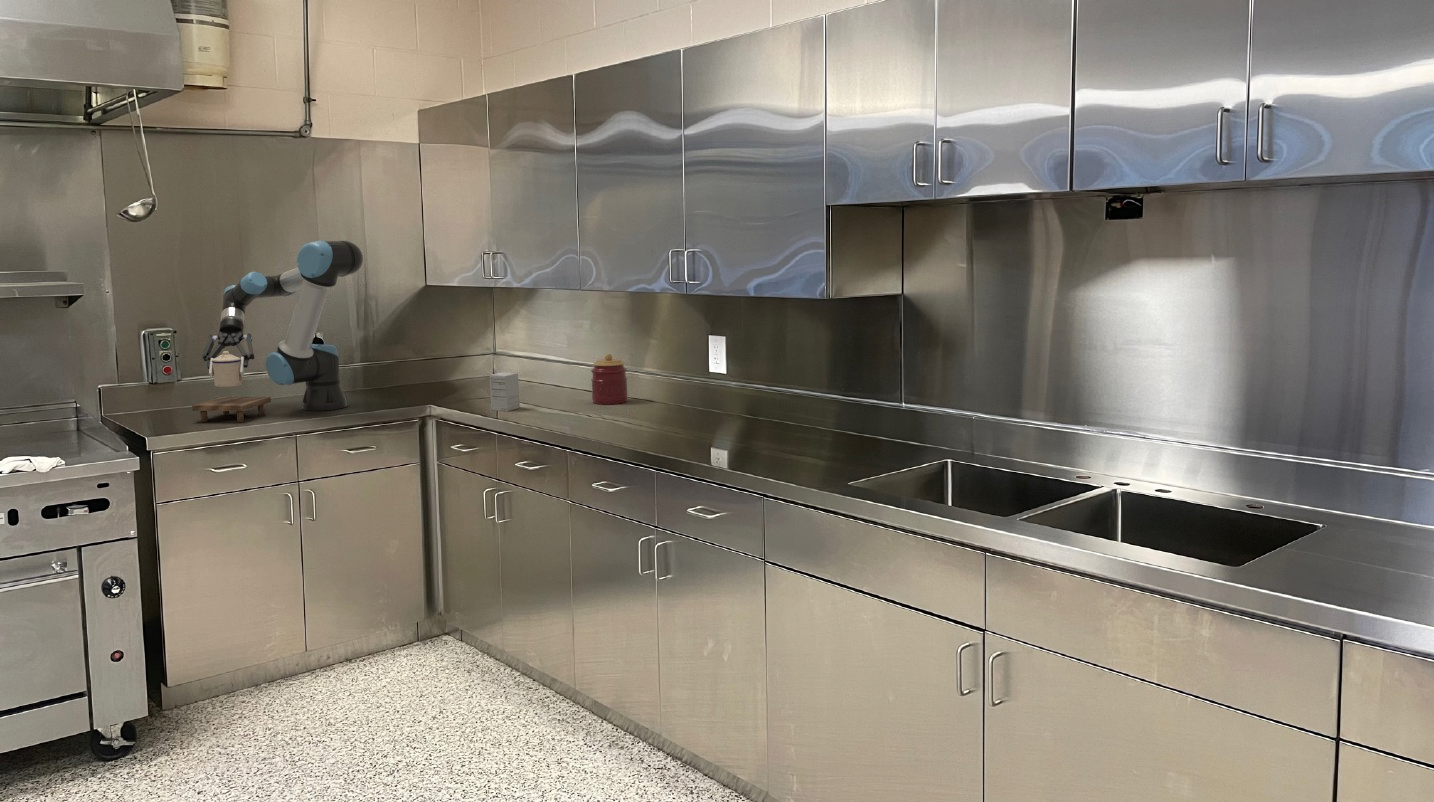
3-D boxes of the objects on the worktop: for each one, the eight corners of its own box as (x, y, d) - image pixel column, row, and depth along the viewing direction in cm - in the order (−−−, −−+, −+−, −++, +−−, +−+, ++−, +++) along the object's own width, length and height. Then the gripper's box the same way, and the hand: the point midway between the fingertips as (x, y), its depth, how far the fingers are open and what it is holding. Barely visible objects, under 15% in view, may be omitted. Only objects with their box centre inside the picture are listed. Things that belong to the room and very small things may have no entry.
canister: (630, 399, 392) (629, 351, 389) (624, 405, 379) (622, 355, 376) (596, 399, 393) (594, 351, 390) (588, 405, 380) (586, 355, 377)
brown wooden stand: (272, 413, 373) (270, 396, 372) (243, 423, 355) (242, 405, 354) (223, 413, 375) (222, 396, 374) (193, 422, 358) (191, 405, 357)
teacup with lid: (247, 385, 362) (244, 351, 360) (219, 388, 356) (216, 353, 354) (234, 381, 371) (231, 348, 369) (207, 384, 365) (204, 350, 363)
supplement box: (503, 407, 379) (501, 371, 377) (520, 408, 376) (518, 372, 374) (490, 410, 373) (488, 374, 371) (507, 411, 369) (505, 375, 367)
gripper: (267, 329, 378) (262, 380, 365) (201, 331, 373) (194, 383, 361) (263, 315, 372) (258, 366, 359) (196, 317, 367) (189, 369, 355)
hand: (226, 374), depth 360 cm, fingers closed on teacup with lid, 9 cm apart
